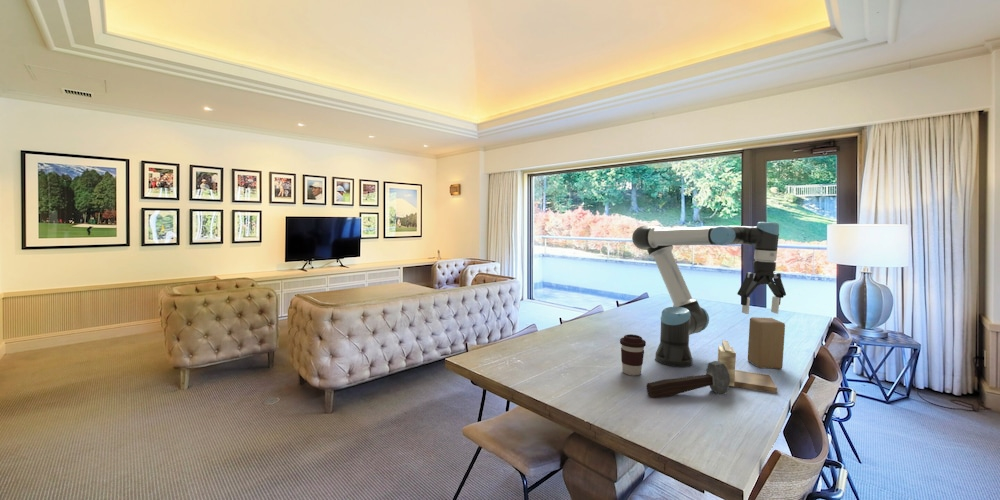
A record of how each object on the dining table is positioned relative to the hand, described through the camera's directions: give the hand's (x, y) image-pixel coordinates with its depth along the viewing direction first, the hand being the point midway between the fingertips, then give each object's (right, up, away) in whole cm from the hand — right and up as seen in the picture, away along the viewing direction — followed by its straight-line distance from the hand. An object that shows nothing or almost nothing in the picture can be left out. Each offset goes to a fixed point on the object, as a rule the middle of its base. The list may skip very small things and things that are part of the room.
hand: (760, 313), depth 162 cm
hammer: (-38, -27, -18) cm, 50 cm away
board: (-11, -26, -6) cm, 28 cm away
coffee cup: (-51, -25, +2) cm, 57 cm away
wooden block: (+10, -25, +13) cm, 30 cm away
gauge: (-17, -25, -5) cm, 31 cm away
